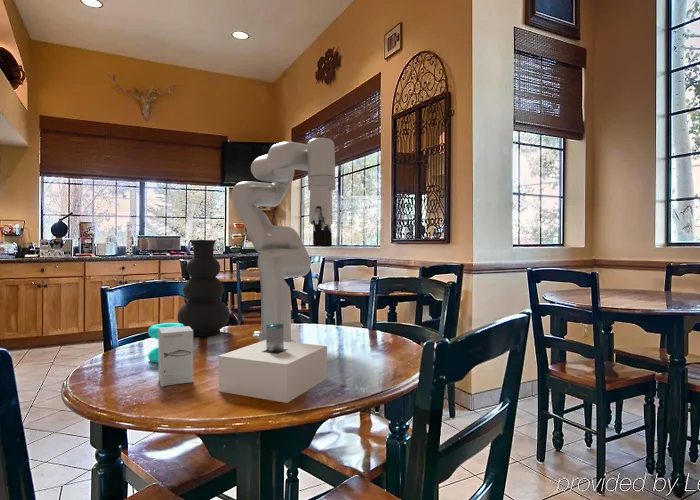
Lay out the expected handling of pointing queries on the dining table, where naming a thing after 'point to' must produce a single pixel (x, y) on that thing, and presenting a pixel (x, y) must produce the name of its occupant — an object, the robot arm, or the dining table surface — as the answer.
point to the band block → (272, 371)
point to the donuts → (153, 333)
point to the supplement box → (175, 355)
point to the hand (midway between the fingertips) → (322, 246)
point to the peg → (274, 338)
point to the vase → (203, 292)
